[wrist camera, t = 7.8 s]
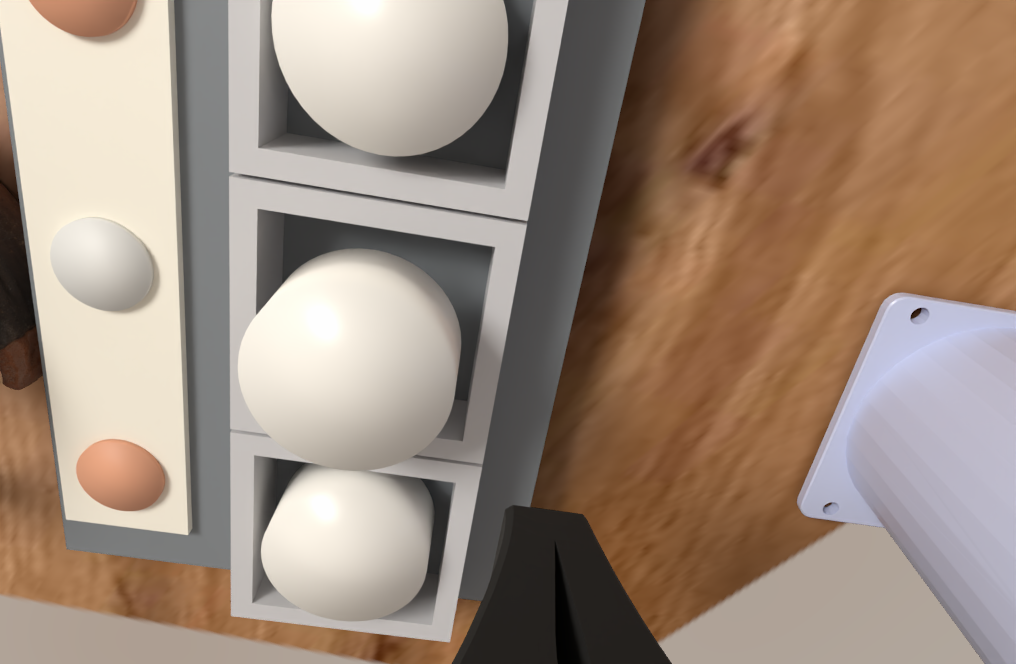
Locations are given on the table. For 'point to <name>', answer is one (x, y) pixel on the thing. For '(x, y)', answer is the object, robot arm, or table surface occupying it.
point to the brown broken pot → (16, 301)
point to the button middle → (353, 361)
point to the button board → (287, 268)
